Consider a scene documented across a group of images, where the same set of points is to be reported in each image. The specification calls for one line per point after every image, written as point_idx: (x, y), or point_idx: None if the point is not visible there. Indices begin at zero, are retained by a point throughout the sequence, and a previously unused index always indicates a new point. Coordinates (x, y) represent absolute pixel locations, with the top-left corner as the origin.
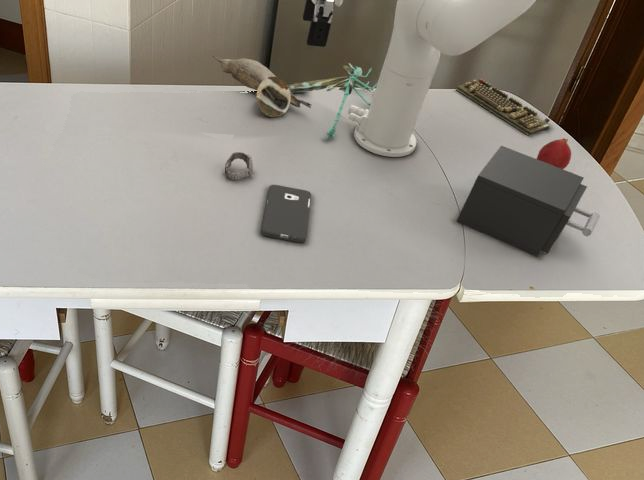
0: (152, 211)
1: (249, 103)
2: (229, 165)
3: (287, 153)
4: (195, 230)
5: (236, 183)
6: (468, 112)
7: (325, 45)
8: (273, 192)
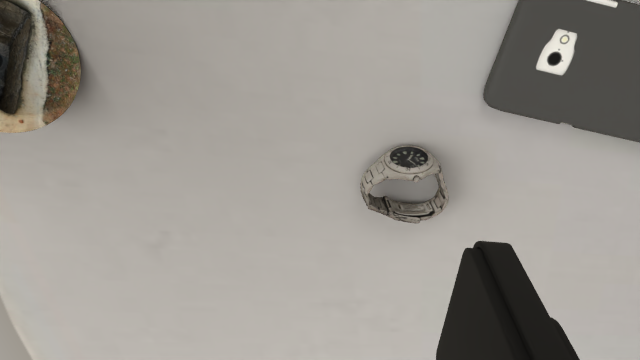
0: None
1: None
2: (399, 206)
3: (290, 21)
4: (628, 278)
5: (454, 184)
6: None
7: (510, 246)
8: (531, 104)
